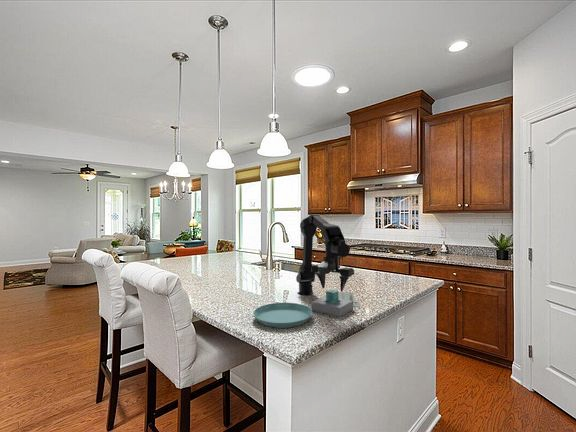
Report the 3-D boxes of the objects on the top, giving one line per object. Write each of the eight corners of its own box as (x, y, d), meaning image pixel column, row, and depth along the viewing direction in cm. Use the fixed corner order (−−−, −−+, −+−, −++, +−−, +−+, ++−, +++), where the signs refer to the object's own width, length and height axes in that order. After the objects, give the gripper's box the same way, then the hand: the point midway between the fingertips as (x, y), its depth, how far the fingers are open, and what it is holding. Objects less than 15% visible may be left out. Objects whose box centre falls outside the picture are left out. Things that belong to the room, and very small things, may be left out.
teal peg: (326, 309, 132) (325, 291, 132) (330, 307, 135) (330, 289, 135) (334, 311, 129) (333, 292, 129) (338, 308, 132) (338, 290, 132)
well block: (311, 310, 132) (311, 301, 132) (326, 304, 141) (325, 295, 141) (339, 317, 123) (339, 307, 123) (353, 309, 132) (353, 300, 132)
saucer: (241, 321, 121) (240, 313, 121) (280, 306, 140) (280, 299, 140) (286, 336, 106) (286, 326, 106) (324, 317, 124) (324, 309, 124)
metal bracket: (327, 287, 150) (357, 288, 148) (327, 297, 152) (357, 298, 150) (326, 304, 137) (359, 305, 134) (326, 314, 139) (359, 316, 136)
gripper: (304, 254, 131) (304, 290, 131) (342, 258, 120) (342, 297, 120) (317, 252, 140) (318, 285, 140) (354, 255, 128) (355, 291, 129)
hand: (332, 289), depth 132 cm, fingers open, 9 cm apart
